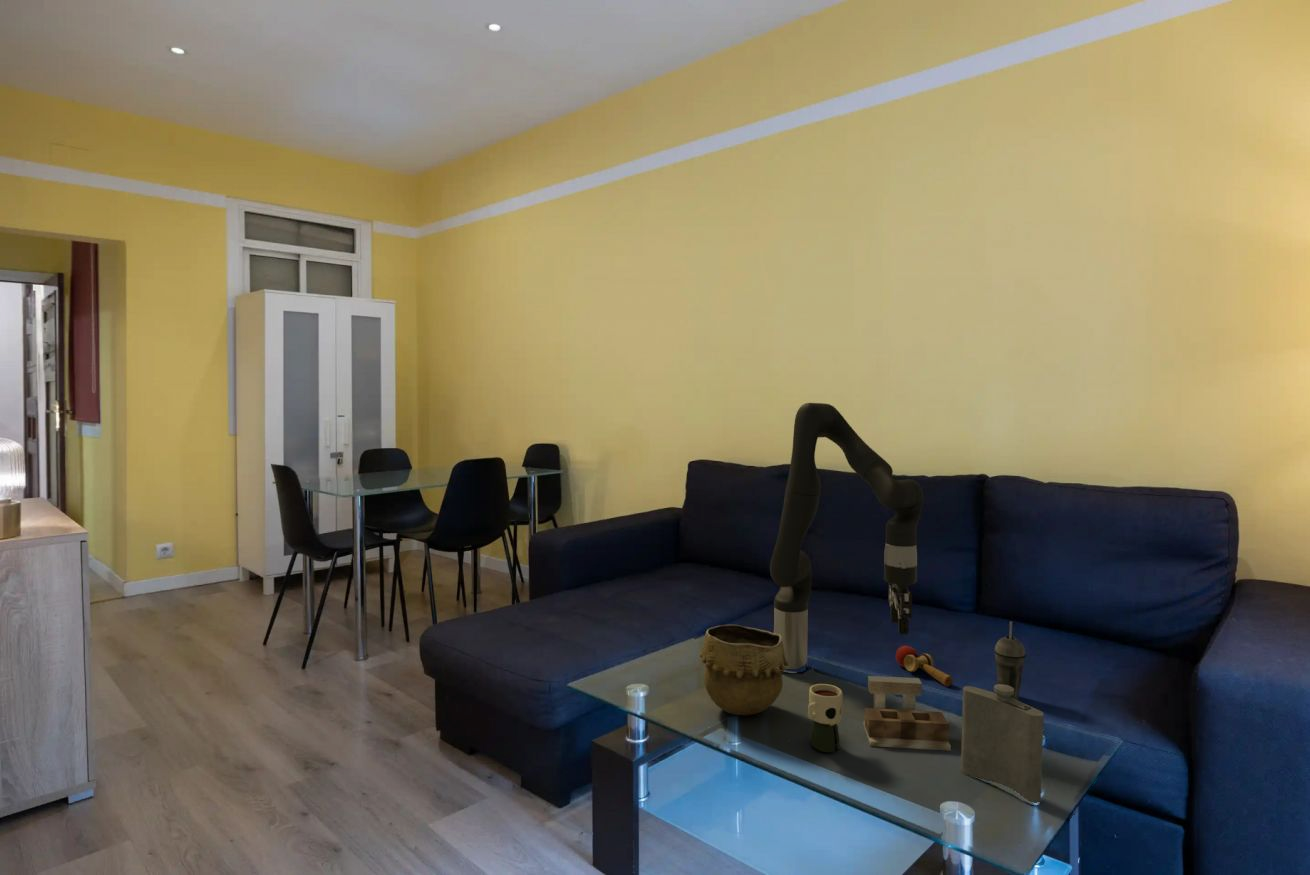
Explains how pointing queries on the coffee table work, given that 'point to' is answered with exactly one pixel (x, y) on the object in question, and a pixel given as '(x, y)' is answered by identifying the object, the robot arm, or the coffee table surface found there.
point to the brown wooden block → (906, 729)
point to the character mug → (825, 716)
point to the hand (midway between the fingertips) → (899, 627)
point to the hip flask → (1002, 740)
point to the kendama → (920, 664)
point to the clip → (894, 690)
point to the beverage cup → (1010, 662)
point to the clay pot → (743, 668)
